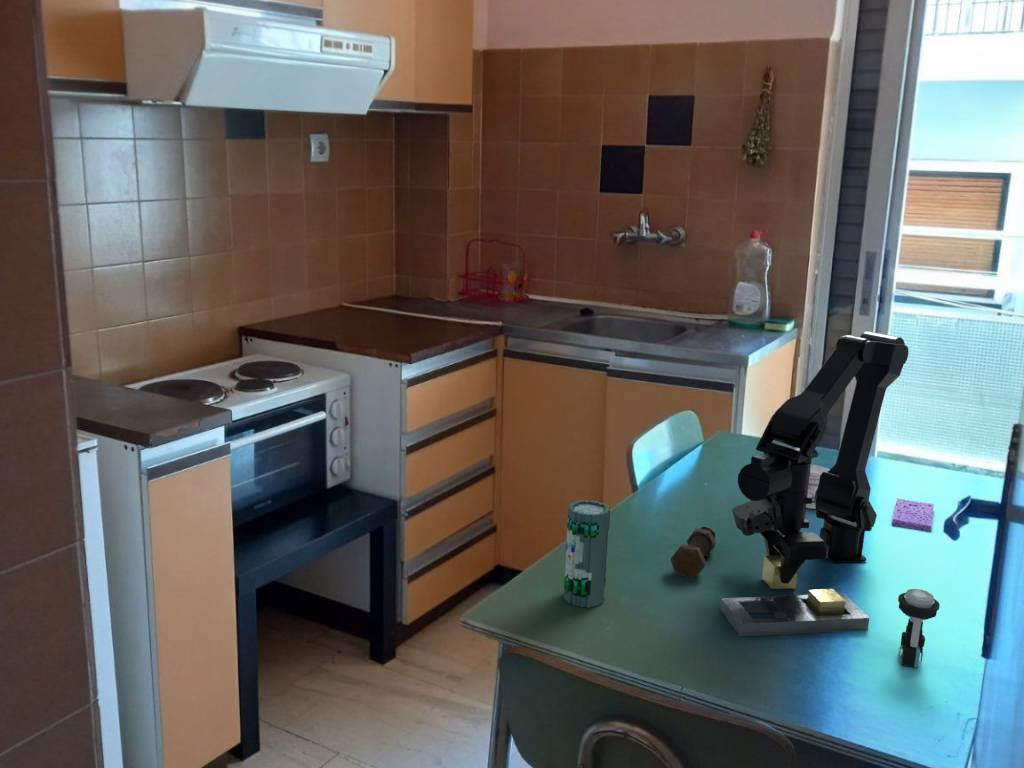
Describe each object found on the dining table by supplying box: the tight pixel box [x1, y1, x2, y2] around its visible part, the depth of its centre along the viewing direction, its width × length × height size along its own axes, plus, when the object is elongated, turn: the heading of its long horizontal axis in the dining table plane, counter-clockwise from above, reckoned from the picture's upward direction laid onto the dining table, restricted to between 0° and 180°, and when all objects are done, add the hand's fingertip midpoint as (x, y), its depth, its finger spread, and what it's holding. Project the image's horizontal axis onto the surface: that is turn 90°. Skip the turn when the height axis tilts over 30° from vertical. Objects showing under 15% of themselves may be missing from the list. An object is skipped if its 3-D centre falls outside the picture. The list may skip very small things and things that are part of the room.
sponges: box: [891, 497, 935, 532], centre depth 192 cm, size 7×13×2 cm, turn 156°
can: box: [563, 499, 611, 609], centre depth 152 cm, size 6×6×15 cm
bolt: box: [670, 526, 717, 579], centre depth 169 cm, size 6×5×15 cm
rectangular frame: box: [719, 593, 870, 637], centre depth 149 cm, size 20×8×2 cm, turn 99°
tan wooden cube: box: [807, 588, 846, 616], centre depth 149 cm, size 4×4×4 cm
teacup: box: [806, 464, 831, 510], centre depth 199 cm, size 12×12×6 cm
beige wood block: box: [761, 555, 798, 590], centre depth 160 cm, size 4×4×4 cm
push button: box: [897, 588, 941, 669], centre depth 138 cm, size 7×5×10 cm
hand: (779, 577), depth 161 cm, fingers closed on beige wood block, 4 cm apart
